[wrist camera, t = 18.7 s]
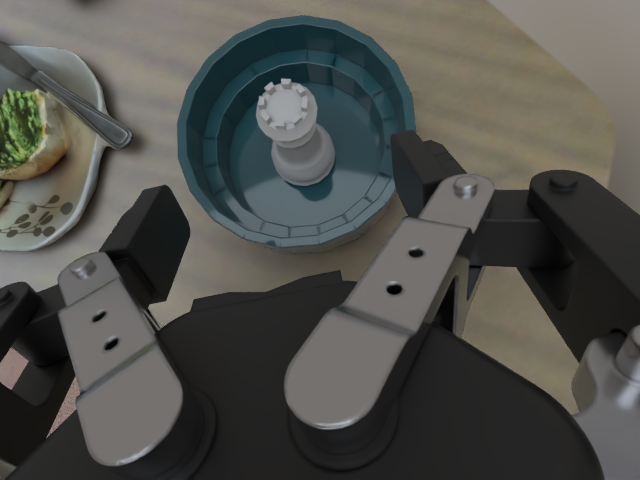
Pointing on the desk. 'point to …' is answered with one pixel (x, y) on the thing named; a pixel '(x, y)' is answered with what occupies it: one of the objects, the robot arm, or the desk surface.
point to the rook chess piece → (295, 133)
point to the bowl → (255, 147)
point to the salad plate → (49, 143)
